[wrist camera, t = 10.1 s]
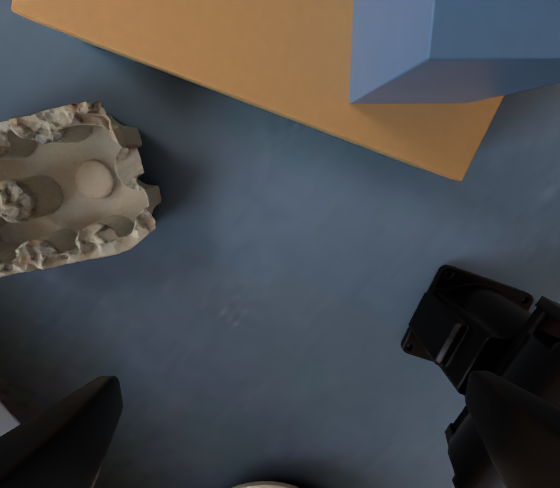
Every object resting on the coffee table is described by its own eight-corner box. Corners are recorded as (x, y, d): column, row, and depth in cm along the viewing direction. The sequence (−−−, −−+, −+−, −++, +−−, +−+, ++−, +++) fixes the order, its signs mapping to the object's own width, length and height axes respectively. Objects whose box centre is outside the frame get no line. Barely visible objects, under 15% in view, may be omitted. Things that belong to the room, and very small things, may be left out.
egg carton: (137, 102, 19) (101, 91, 15) (176, 231, 21) (153, 251, 17) (-44, 142, 19) (-125, 141, 15) (11, 264, 21) (-48, 291, 17)
